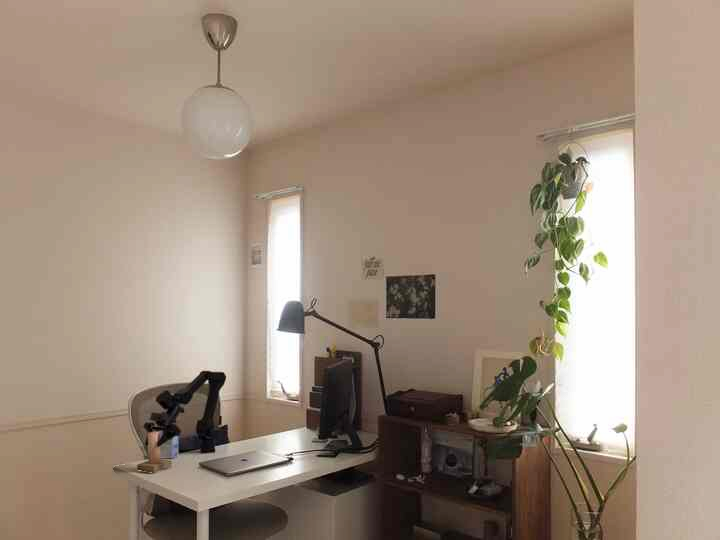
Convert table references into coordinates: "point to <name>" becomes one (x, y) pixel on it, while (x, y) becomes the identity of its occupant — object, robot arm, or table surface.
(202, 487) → the table surface
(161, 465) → the walnut plinth
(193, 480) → the table surface
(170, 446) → the ink cartridge box
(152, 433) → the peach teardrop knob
